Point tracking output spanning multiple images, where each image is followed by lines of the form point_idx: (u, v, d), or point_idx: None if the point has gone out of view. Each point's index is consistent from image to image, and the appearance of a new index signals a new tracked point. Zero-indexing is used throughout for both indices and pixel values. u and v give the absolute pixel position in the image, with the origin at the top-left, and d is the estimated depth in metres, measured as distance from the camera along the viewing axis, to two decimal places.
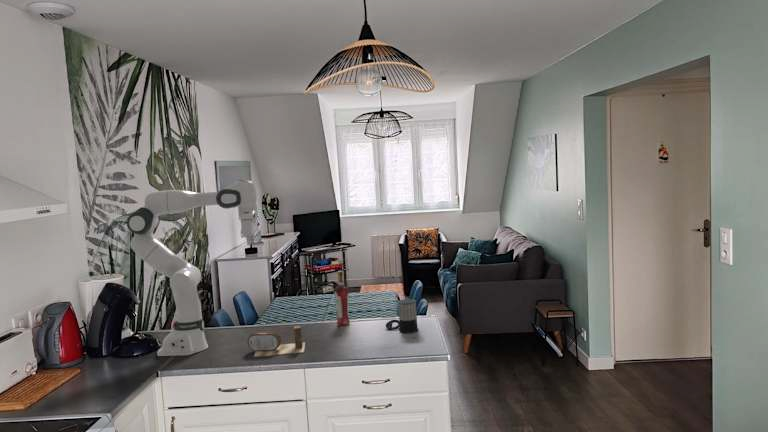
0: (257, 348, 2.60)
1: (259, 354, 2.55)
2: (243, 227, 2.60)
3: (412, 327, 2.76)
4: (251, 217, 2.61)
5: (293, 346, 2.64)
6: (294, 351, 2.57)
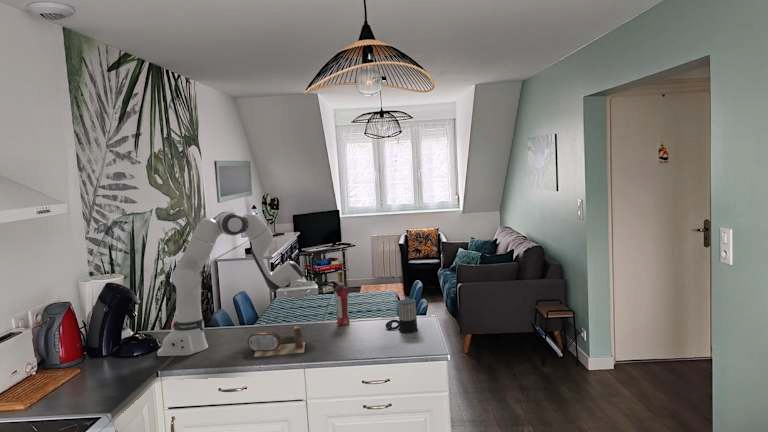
0: (257, 348, 2.60)
1: (259, 354, 2.55)
2: (317, 286, 2.82)
3: (412, 327, 2.76)
4: None
5: (293, 346, 2.64)
6: (294, 351, 2.57)
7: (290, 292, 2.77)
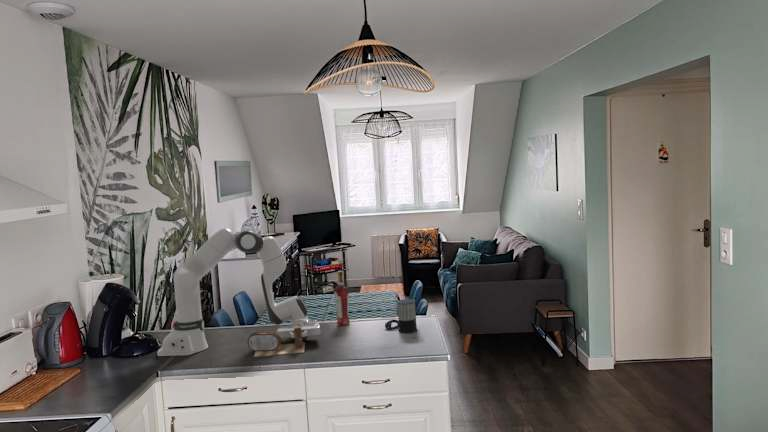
0: (257, 348, 2.60)
1: (259, 354, 2.55)
2: (319, 326, 2.70)
3: (411, 327, 2.76)
4: None
5: (293, 346, 2.64)
6: (294, 351, 2.57)
7: None
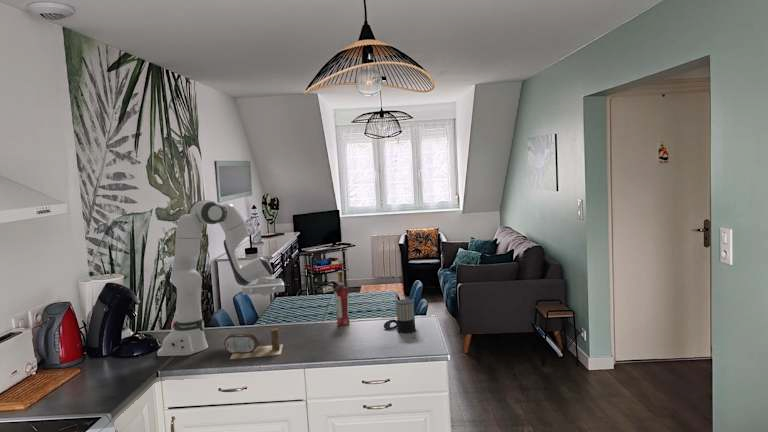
0: (234, 350, 2.59)
1: (235, 356, 2.54)
2: None
3: (410, 327, 2.76)
4: None
5: (270, 348, 2.63)
6: (271, 353, 2.56)
7: (256, 289, 2.76)
